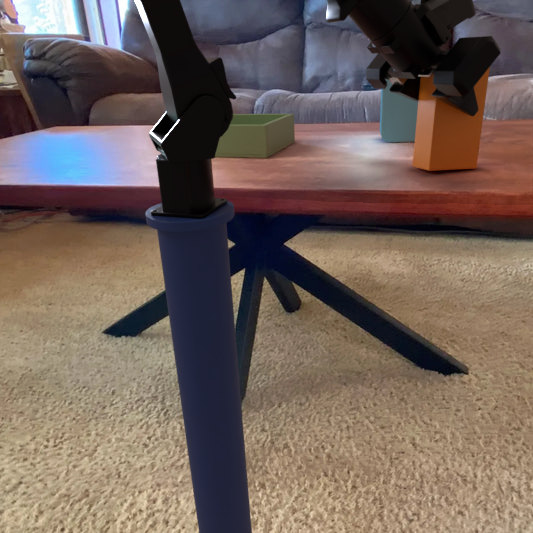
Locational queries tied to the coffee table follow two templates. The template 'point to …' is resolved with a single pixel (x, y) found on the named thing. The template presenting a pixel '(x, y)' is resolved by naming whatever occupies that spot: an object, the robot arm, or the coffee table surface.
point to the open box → (256, 135)
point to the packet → (447, 130)
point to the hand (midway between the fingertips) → (461, 111)
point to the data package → (397, 116)
